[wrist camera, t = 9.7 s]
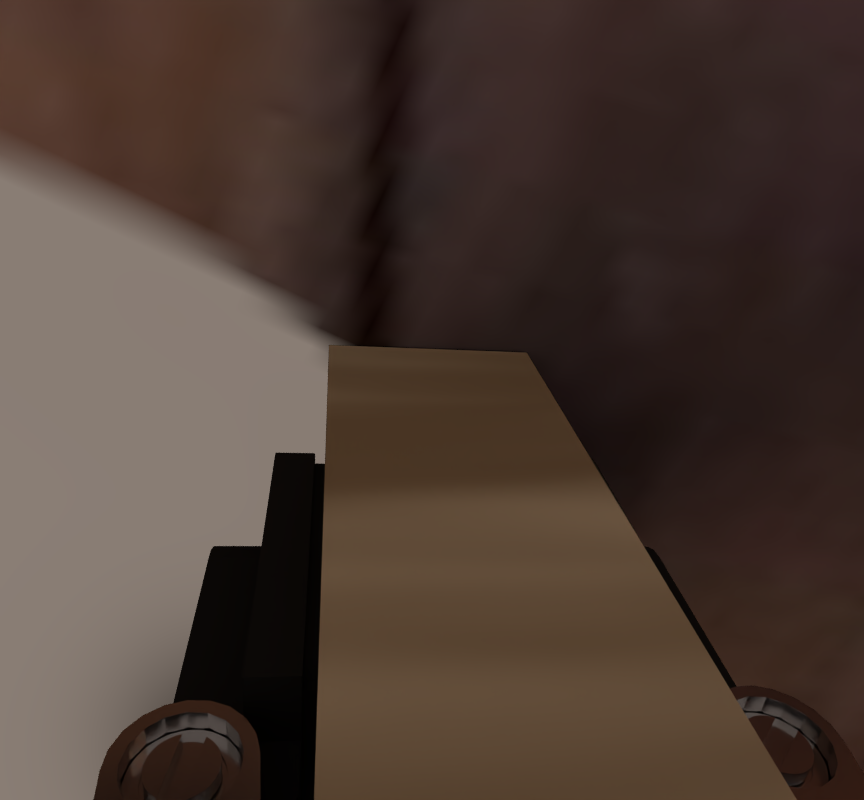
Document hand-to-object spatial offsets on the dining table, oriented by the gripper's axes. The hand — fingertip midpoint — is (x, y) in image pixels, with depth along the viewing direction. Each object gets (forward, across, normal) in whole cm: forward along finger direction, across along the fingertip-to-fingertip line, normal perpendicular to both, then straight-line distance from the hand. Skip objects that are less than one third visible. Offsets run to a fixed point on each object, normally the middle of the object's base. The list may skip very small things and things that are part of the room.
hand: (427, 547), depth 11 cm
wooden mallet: (+2, 0, +7) cm, 7 cm away
